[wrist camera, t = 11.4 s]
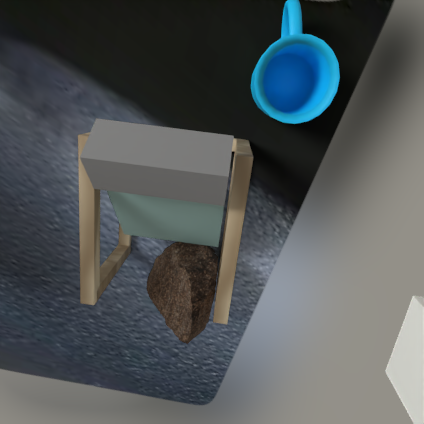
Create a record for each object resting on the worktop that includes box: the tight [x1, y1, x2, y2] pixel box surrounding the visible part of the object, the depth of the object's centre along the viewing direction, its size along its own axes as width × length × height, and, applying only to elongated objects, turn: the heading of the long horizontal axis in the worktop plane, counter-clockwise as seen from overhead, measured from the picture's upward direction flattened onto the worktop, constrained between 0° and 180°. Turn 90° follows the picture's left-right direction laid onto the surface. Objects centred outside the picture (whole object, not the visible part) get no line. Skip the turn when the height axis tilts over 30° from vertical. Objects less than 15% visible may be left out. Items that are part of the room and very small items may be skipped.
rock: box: [147, 242, 218, 344], centre depth 44 cm, size 12×10×10 cm
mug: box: [251, 0, 340, 124], centre depth 36 cm, size 12×8×8 cm
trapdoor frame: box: [78, 132, 253, 324], centre depth 39 cm, size 16×18×13 cm
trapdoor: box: [80, 118, 234, 247], centre depth 35 cm, size 12×17×4 cm
